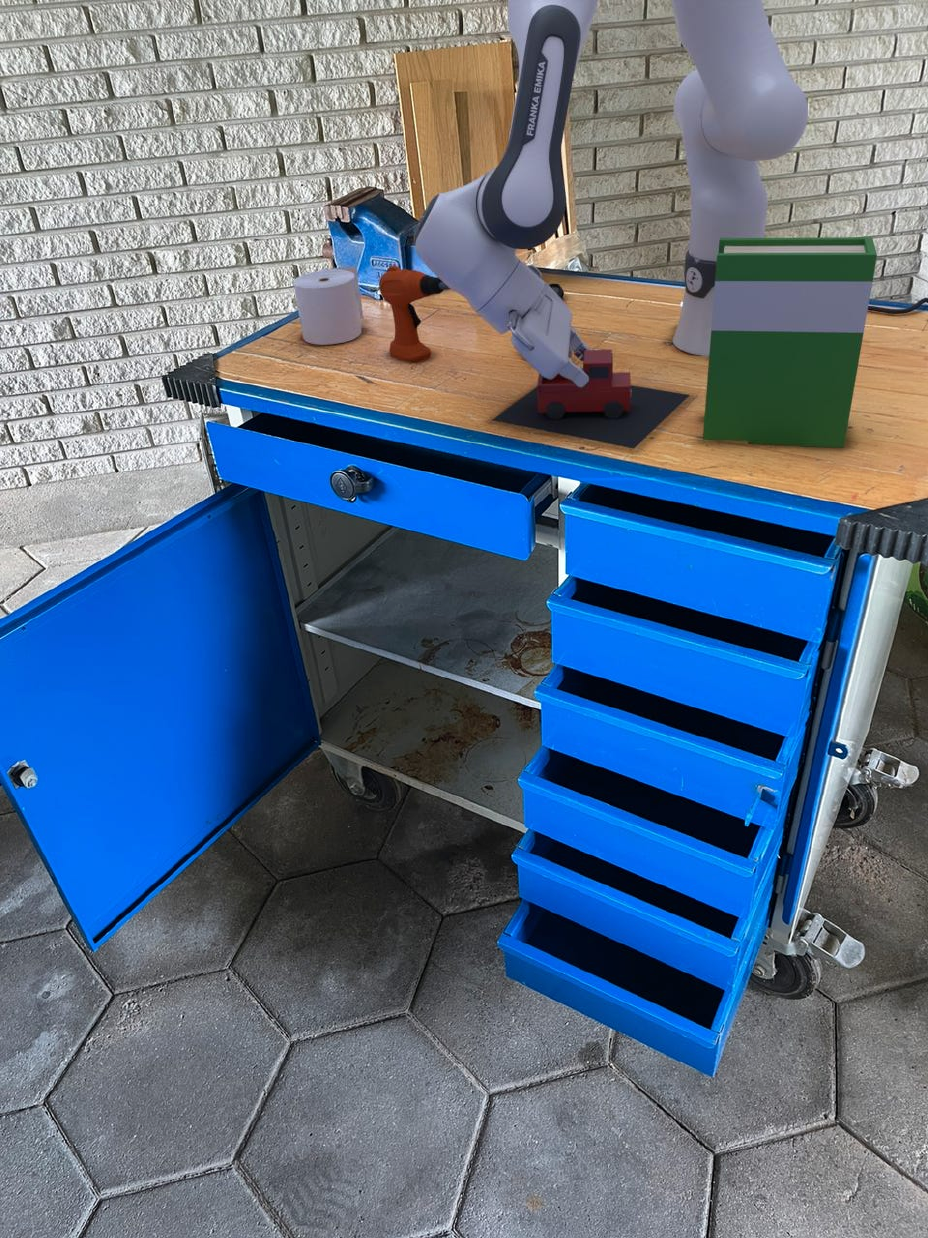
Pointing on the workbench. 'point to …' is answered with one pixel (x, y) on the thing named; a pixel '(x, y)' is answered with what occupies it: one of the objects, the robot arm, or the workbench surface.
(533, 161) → the robot arm
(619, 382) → the toy pickup truck
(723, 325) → the hardback book
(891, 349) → the workbench surface
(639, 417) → the mat
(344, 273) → the toilet tissue
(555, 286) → the electric trimmer
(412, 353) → the toy drill
